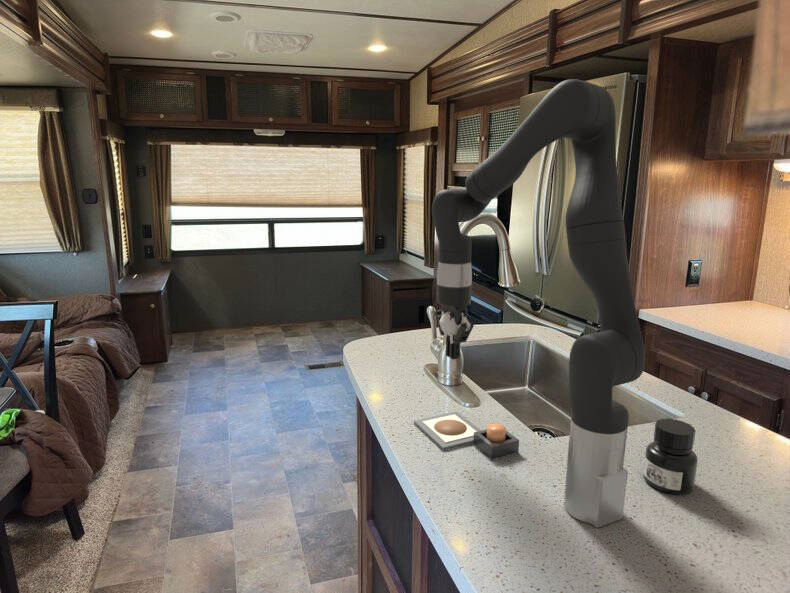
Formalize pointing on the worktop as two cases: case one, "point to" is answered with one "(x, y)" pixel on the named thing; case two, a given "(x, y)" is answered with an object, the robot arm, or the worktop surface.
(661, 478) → the ink bottle
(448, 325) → the lollipop
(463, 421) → the board
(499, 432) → the button
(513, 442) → the button housing
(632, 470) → the worktop surface
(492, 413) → the worktop surface
